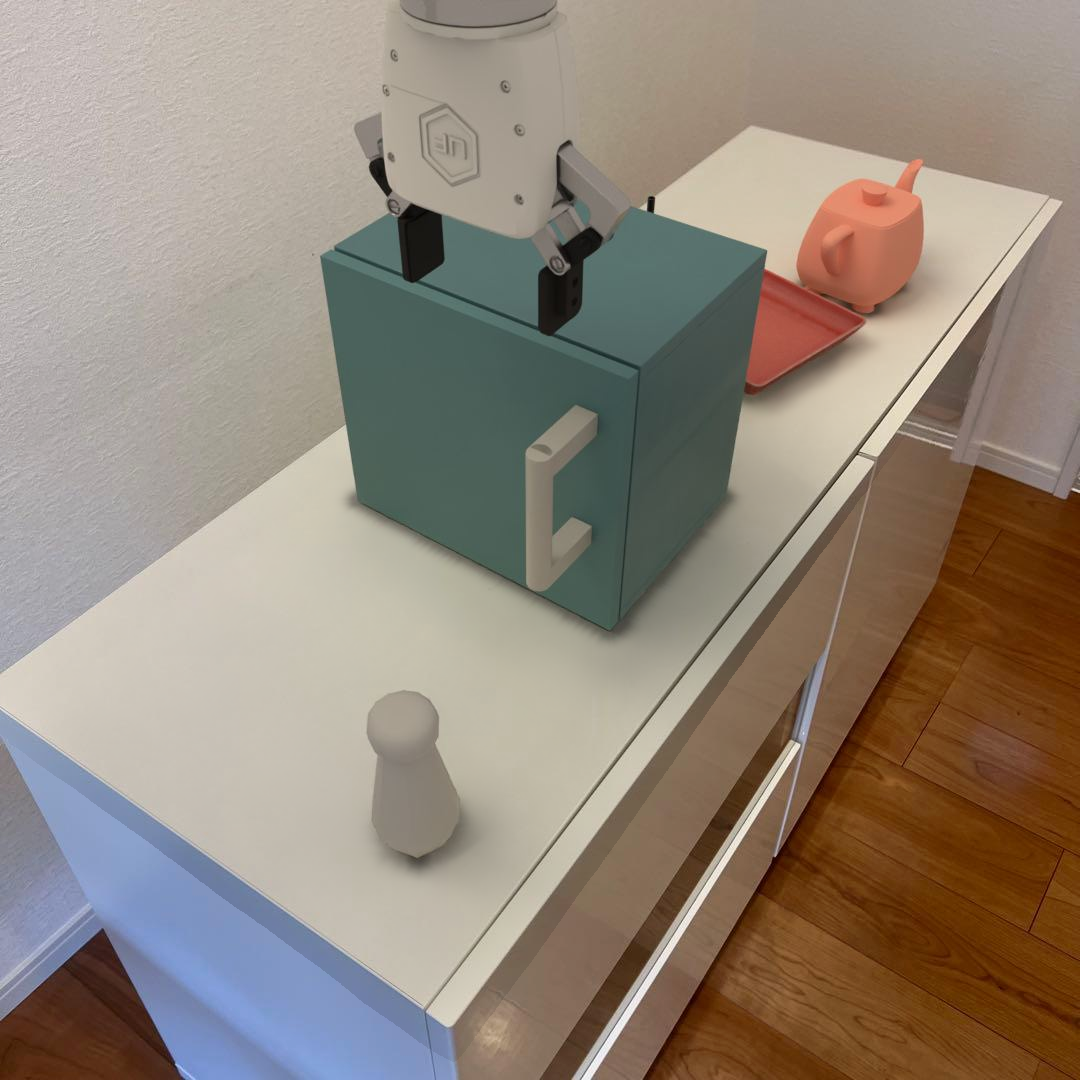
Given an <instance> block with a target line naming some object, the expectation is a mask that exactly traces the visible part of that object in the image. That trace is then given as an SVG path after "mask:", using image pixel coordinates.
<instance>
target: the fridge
mask: <svg viewBox="0 0 1080 1080" xmlns="http://www.w3.org/2000/svg"><path fill="white" fill-rule="evenodd" d="M573 207H574V209H575V211H576V213H577V214H578V216H579V218H580V219H581V221H582V223H583V224H584V226H585V227H586V225H587V224H588V223H587V222H588V221H589V219H590V211H589V209H588V208H587V206H586V205H585V204H584V203H582V202H581V201H580V200H579V199H577V202H576V204H575V205H574V206H573ZM397 220H398V218H397V217H394V216H392V215H391V214H390V213H389V212H388V213H386V214H385V215H382V216H381V217H380V218H377V219H376V220H374V221H373V222H371V223H370V224H368V225H366V226H364V227H362V228H361V229H359V230H358V231H355V233H354V232H353V234H351V235H349V236H348V237H346V238H344V239H343V240H341V241H339V242H338V243H336V244H334V245H333V250H334V251H337V252H339V253H342V254H344V255H347V256H350V257H352V258H355V259H357V260H360V261H362V262H365V263H367V264H370V265H372V266H375V267H377V268H380V269H383V270H385V271H388V272H390V273H393V274H395V275H398V276H400V277H403V273H402V263H401V253H400V243H399V233H398V223H397ZM549 223H550V225H551V227H552V228H553V230H554V232H555V233H556V235H557V237H558V238H559V240H560V242H561V243H562V245H564V244H565V243H567V241H566V240H565V238H564V236H563V235H562V233H561V231H560V230H559V228H558V226H557V225H556V223H555V221H554V220H552V221H551V222H549ZM442 227H443V241H444V256H445V260H444V263H443V264H442V265H440V266H439V267H438V268H436V269H435V270H433V271H432V272H430V273H429V274H427V275H426V276H424V277H423V278H421V279H420V280H419V281H417V282H416V283H418V284H421V285H423V286H426V287H428V288H431V289H433V290H436V291H438V292H441V293H443V294H446V295H448V296H451V297H454V298H456V299H459V300H461V301H464V302H466V303H469V304H471V305H474V306H476V307H479V308H481V309H484V310H487V311H489V312H492V313H494V314H497V315H499V316H502V317H504V318H507V319H509V320H512V321H514V322H517V323H520V324H522V325H525V326H527V327H530V328H532V329H535V330H537V331H540V330H539V329H538V274H539V272H540V270H541V269H543V268H544V267H545V266H547V264H546V262H545V261H544V259H543V257H542V256H541V254H540V252H539V251H538V249H537V247H536V246H535V244H534V243H533V241H532V239H531V238H530V237H529V238H525V239H515V238H510V237H506V236H503V235H500V234H497V233H493V232H490V231H487V230H485V229H482V228H479V227H476V226H473V225H470V224H467V223H464V222H461V221H459V220H456V219H453V218H450V217H447V216H444V215H442ZM767 255H768V249H766V248H762V247H760V246H756V245H753V244H749V243H747V242H744V241H741V240H739V239H735V238H731V237H729V236H725V235H722V234H719V233H716V232H713V231H710V230H707V229H703V228H702V227H701V228H700V227H697V226H694V225H691V224H689V223H685V222H682V221H678V220H675V219H673V218H669V217H666V216H663V215H660V214H657V213H655V212H654V213H651V212H648V211H647V210H645V209H642V208H638V207H635V206H632V205H631V207H630V209H629V211H628V213H627V214H626V216H625V217H624V219H623V220H622V222H621V224H620V225H619V227H618V228H617V230H615V232H614V235H613V238H612V239H611V240H610V241H608V242H607V243H606V244H604V245H603V246H602V247H601V248H599V249H598V250H597V251H595V252H594V253H593V254H591V255H590V256H588V257H587V258H586V259H584V262H583V293H582V306H581V309H580V311H579V313H578V314H577V315H576V316H575V317H574V318H573V319H571V320H570V321H568V322H567V323H566V324H565V325H564V326H562V327H561V328H560V329H559V330H557V331H556V332H555V333H554V334H553V335H551V336H553V337H555V338H558V339H560V340H563V341H565V342H568V343H570V344H573V345H575V346H578V347H580V348H583V349H586V350H588V351H591V352H593V353H596V354H598V355H601V356H603V357H606V358H608V359H611V360H613V361H616V362H618V363H621V364H624V365H626V366H629V367H631V368H634V369H636V370H638V371H639V373H638V385H637V397H636V409H635V421H634V434H633V446H632V458H631V470H630V482H629V494H628V506H627V518H626V530H625V542H624V555H623V567H622V579H621V591H620V603H619V615H618V622H619V621H621V620H622V619H623V618H624V617H625V616H626V614H627V613H628V612H629V610H631V608H632V607H633V606H634V605H635V604H636V602H637V601H638V600H640V598H641V597H642V596H643V595H644V593H645V592H646V591H647V590H648V588H649V587H650V586H651V585H652V584H653V583H654V581H655V580H656V579H658V577H659V576H660V574H661V573H662V572H663V571H664V570H665V569H666V568H667V567H668V565H669V564H671V562H672V561H673V560H674V558H675V557H676V556H677V555H678V554H679V552H680V551H681V550H682V549H683V548H684V547H685V546H686V544H687V543H688V542H689V541H690V540H691V538H693V536H695V534H696V533H697V531H698V530H699V529H700V528H701V527H702V526H703V524H705V522H706V521H708V519H709V518H710V517H711V516H712V514H713V513H714V512H715V511H716V509H717V508H718V507H719V506H720V505H721V504H722V503H723V502H724V500H725V499H726V498H727V495H728V488H729V484H730V483H729V482H730V476H731V471H732V465H733V459H734V452H735V447H736V441H737V435H738V429H739V424H740V417H741V411H742V406H743V400H744V399H743V398H744V394H745V392H744V388H745V382H746V376H747V370H748V364H749V358H750V352H751V346H752V341H753V335H754V329H755V323H756V317H757V311H758V305H759V299H760V293H761V287H762V281H763V275H764V269H766V261H767Z"/></svg>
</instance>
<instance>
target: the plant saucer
mask: <svg viewBox="0 0 1080 1080" xmlns="http://www.w3.org/2000/svg"><path fill="white" fill-rule="evenodd" d="M866 324H867V318H866V317H864V316H862V315H860V314H859V313H857V312H854V311H852V310H851V309H849V308H846V307H844V306H842V305H840V304H838V303H836V302H834V301H832V300H831V299H827V297H826V298H825V297H824V296H822V295H821V294H816V293H813V292H811V291H809V290H807V289H806V288H805V286H801V285H799V284H798V283H796V282H793V281H791V280H789V279H787V278H785V277H783V276H781V275H778V274H776V273H775V272H772V271H770V270H768V269H767V268H765V269H764V275H763V281H762V287H761V293H760V299H759V305H758V311H757V317H756V323H755V329H754V335H753V341H752V346H751V352H750V358H749V364H748V370H747V376H746V382H745V388H744V394H746V395H748V396H754V395H757V394H759V393H761V392H762V391H764V390H765V389H767V388H769V387H771V386H772V385H774V384H775V383H777V382H779V381H780V380H782V379H784V378H785V377H787V376H789V375H790V374H792V373H793V372H795V371H797V370H798V369H800V368H802V367H803V366H805V365H807V364H808V363H810V362H812V361H813V360H815V359H817V358H818V357H820V356H821V355H823V354H825V353H826V352H828V351H830V350H831V349H833V348H835V347H836V346H838V345H839V344H841V343H843V342H844V341H845V340H847V339H848V338H850V337H852V336H853V335H854V334H856V333H857V332H858V331H859V330H861V329H862V328H863V327H864V326H865V325H866Z"/></svg>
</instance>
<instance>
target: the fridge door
mask: <svg viewBox="0 0 1080 1080" xmlns="http://www.w3.org/2000/svg"><path fill="white" fill-rule="evenodd" d="M319 259H320V265H321V271H322V272H321V273H322V278H323V285H324V291H325V297H326V304H327V311H328V317H329V323H330V324H329V325H330V330H331V336H332V343H333V344H332V345H333V349H334V350H333V351H334V356H335V363H336V369H337V375H338V376H337V377H338V382H339V389H340V396H341V402H342V408H343V409H342V410H343V414H344V421H345V427H346V433H347V434H346V436H347V440H348V447H349V454H350V461H351V467H352V474H353V480H354V486H355V493H356V499H357V502H359V503H361V504H363V505H364V506H367V507H368V508H371V509H372V510H375V511H377V512H379V513H380V514H382V515H384V516H387V517H388V518H390V519H392V520H394V521H396V522H397V523H400V524H401V525H404V526H405V527H408V528H410V529H411V530H413V531H415V532H417V533H419V534H421V535H423V536H424V537H427V538H429V539H431V540H433V541H435V542H437V543H439V544H441V545H443V546H444V547H445V548H449V550H452V551H454V552H456V553H458V554H460V555H462V556H463V557H466V558H467V559H470V560H471V561H474V562H475V563H476V564H479V565H480V566H483V567H485V568H487V569H489V570H491V571H493V572H495V573H497V574H499V575H501V576H503V577H505V578H506V579H508V580H510V581H512V582H514V583H516V584H518V585H520V586H522V587H524V588H526V589H528V590H529V591H532V592H534V593H535V594H537V595H539V596H541V597H543V598H545V599H548V600H549V601H551V602H553V603H555V604H557V605H559V606H561V607H562V608H565V609H566V610H569V611H571V612H572V613H575V614H576V615H578V616H580V617H582V618H584V619H586V620H588V621H590V622H592V623H594V624H596V625H598V626H600V627H602V628H603V629H606V630H607V631H608V632H609V631H612V629H614V627H616V626H617V624H618V622H619V620H618V615H619V603H620V591H621V579H622V567H623V555H624V542H625V530H626V518H627V506H628V494H629V482H630V470H631V458H632V446H633V434H634V421H635V409H636V397H637V385H638V373H639V371H638V370H636V369H634V368H631V367H629V366H626V365H624V364H621V363H618V362H616V361H613V360H611V359H608V358H606V357H603V356H601V355H598V354H596V353H593V352H591V351H588V350H586V349H583V348H580V347H578V346H575V345H573V344H570V343H568V342H565V341H563V340H560V339H558V338H555V337H553V336H547V335H544V334H541V333H540V331H537V330H535V329H532V328H530V327H527V326H525V325H522V324H520V323H517V322H514V321H512V320H509V319H507V318H504V317H502V316H499V315H497V314H494V313H492V312H489V311H487V310H484V309H481V308H479V307H476V306H474V305H471V304H469V303H466V302H464V301H461V300H459V299H456V298H454V297H451V296H448V295H446V294H443V293H441V292H438V291H436V290H433V289H431V288H428V287H426V286H423V285H421V284H418V283H416V282H414V283H410V282H408V281H405V280H404V279H403V277H400V276H398V275H395V274H393V273H390V272H388V271H385V270H383V269H380V268H377V267H375V266H372V265H370V264H367V263H365V262H362V261H360V260H357V259H355V258H352V257H350V256H347V255H344V254H342V253H339V252H337V251H334V249H329V250H327V251H326V252H324V253H322V254H321V255H320V256H319Z"/></svg>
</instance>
